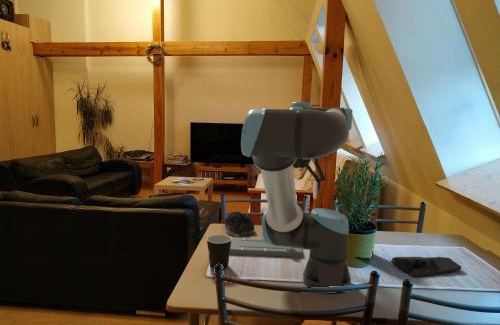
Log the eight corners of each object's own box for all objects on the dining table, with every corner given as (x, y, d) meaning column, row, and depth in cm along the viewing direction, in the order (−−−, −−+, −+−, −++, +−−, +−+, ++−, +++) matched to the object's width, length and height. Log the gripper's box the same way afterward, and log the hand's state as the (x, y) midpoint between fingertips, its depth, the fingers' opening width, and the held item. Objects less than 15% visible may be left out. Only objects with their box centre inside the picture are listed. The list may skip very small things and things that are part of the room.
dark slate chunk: (468, 276, 120) (470, 263, 119) (409, 279, 117) (411, 265, 116) (438, 258, 135) (440, 246, 134) (386, 260, 132) (387, 248, 131)
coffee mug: (227, 272, 118) (227, 244, 116) (203, 269, 119) (203, 242, 118) (235, 259, 129) (236, 233, 128) (213, 256, 131) (213, 231, 129)
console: (302, 257, 132) (302, 252, 132) (228, 254, 133) (228, 249, 133) (298, 244, 145) (299, 239, 145) (232, 241, 147) (232, 236, 146)
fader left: (291, 249, 133) (291, 239, 133) (286, 249, 134) (286, 239, 133) (290, 246, 137) (291, 236, 136) (285, 246, 137) (286, 236, 136)
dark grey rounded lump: (257, 237, 154) (259, 215, 154) (227, 237, 151) (229, 214, 151) (250, 230, 167) (252, 210, 167) (222, 229, 164) (224, 208, 164)
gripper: (329, 142, 136) (326, 195, 139) (265, 142, 134) (264, 195, 137) (335, 144, 128) (332, 200, 132) (268, 144, 126) (266, 200, 130)
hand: (297, 198), depth 134 cm, fingers open, 13 cm apart
